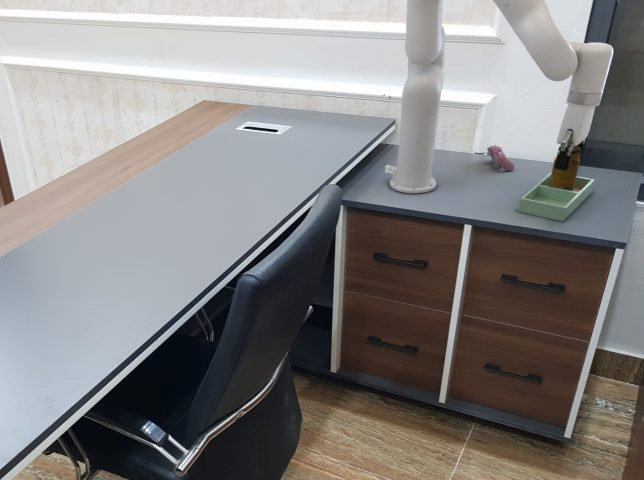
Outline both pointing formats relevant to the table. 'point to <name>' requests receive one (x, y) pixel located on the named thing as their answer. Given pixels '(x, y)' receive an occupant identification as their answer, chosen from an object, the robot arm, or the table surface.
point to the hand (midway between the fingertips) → (567, 163)
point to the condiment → (566, 172)
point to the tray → (555, 199)
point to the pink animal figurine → (499, 158)
